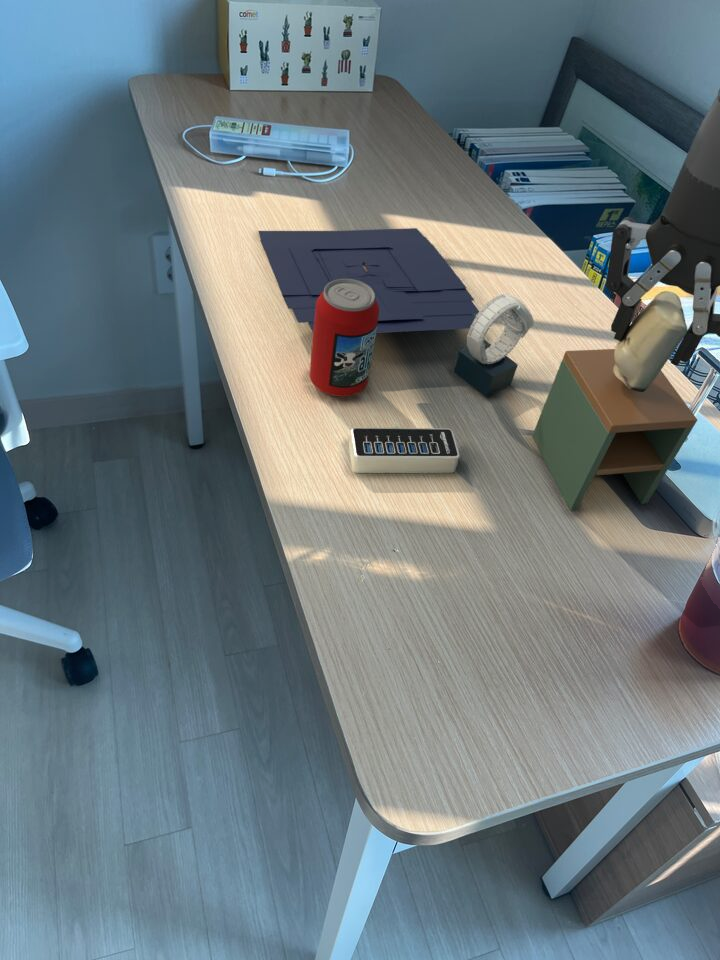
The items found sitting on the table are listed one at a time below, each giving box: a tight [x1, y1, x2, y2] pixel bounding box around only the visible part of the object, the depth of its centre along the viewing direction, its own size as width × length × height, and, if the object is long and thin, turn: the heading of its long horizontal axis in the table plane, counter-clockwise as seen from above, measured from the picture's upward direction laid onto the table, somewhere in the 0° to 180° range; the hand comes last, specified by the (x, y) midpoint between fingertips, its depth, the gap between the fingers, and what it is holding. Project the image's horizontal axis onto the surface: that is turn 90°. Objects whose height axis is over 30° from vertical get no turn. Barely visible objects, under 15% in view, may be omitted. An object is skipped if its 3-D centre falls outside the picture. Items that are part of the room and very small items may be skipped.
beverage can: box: [309, 279, 379, 397], centre depth 83 cm, size 7×7×12 cm
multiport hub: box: [348, 427, 460, 474], centre depth 79 cm, size 4×11×2 cm, turn 97°
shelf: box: [531, 348, 698, 511], centre depth 78 cm, size 11×9×12 cm
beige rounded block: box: [613, 290, 688, 392], centre depth 70 cm, size 6×5×8 cm
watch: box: [453, 293, 535, 398], centre depth 87 cm, size 6×8×11 cm
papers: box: [257, 227, 480, 334], centre depth 99 cm, size 24×30×4 cm
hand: (648, 347), depth 70 cm, fingers closed on beige rounded block, 5 cm apart
